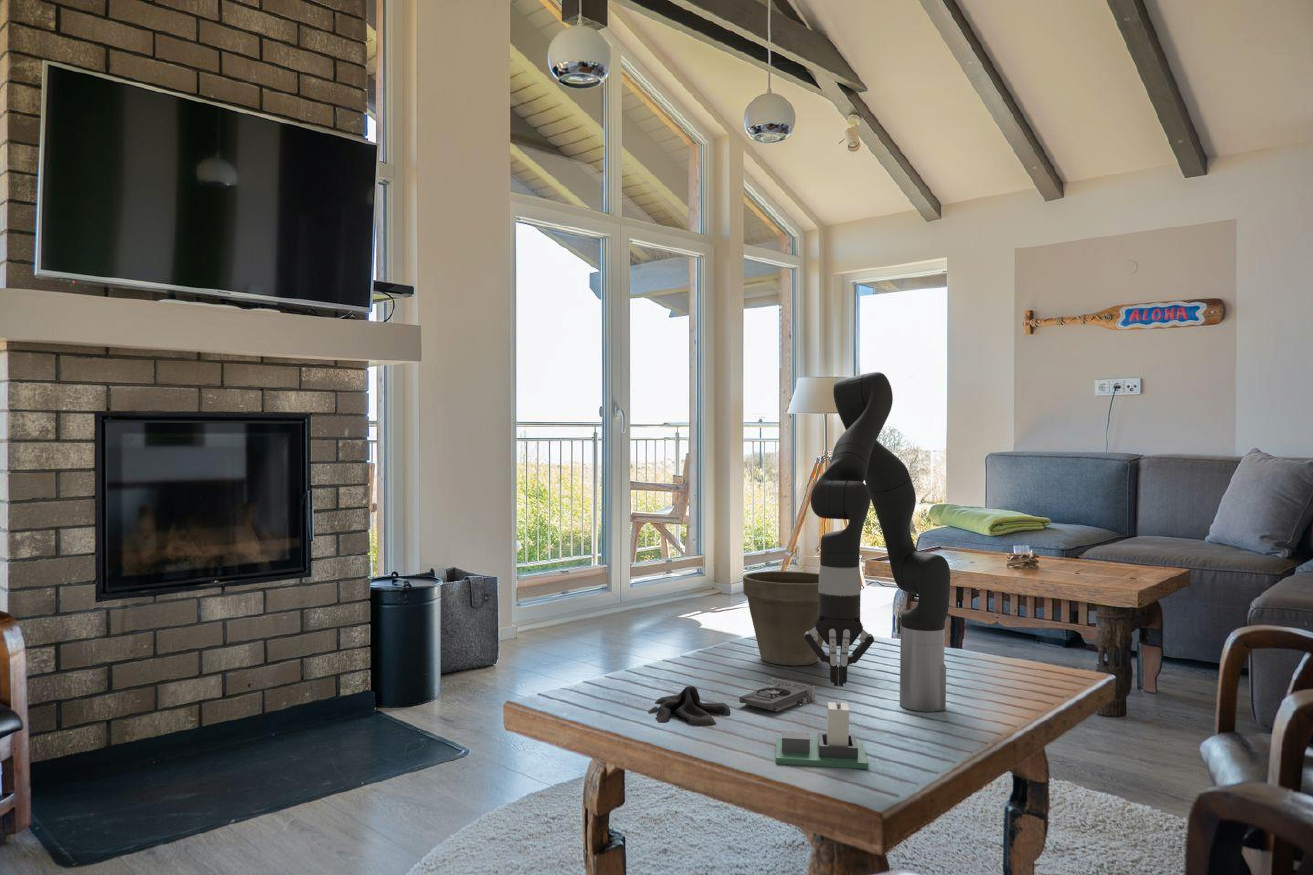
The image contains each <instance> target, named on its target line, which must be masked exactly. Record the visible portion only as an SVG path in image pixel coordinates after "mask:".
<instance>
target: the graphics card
mask: <svg viewBox="0 0 1313 875" xmlns="http://www.w3.org/2000/svg"><path fill="white" fill-rule="evenodd" d="M767 681H768V682H767V683H768V684H770V685H769V686H766V687H763V688H760V689H757V690H754V691H752V692H749V693H747V694H744V695H743V694H742V695H741V696H739V698H738V699H739V703H740V704H746V705H749V706H752V707H756V708H761V709H764V710H768V711H773V712H779V711H781V710H784V709H787V708H790V707H791V706H794V705H797V704H798V705H800V704H801V705H800V706H803V704H804V705H806V704H809V703H811V702H813V701H815V697H816V691H815V689H816V686H815V685H813V686H811V684H805V683H801V682H795V681H790V680H784V679H779V678H773V677H771V679H769V678H768V680H767ZM786 684H787V685H786ZM794 686H795V687H794ZM798 705H797V706H798ZM800 706H799V707H800Z"/></svg>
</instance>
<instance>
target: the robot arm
mask: <svg viewBox="0 0 1313 875" xmlns="http://www.w3.org/2000/svg"><path fill="white" fill-rule="evenodd" d="M832 391H833V393H832V394H833V400H834V403H835V407H836V410H837V412H838V416H839V418H840V420H841V423H842V424H843V427H844V429H845V431H844V432H843V433H842V434H841V435H840V437H839V439H837V442H836V443H835V445H834V448H833V452H832V455H831V459H830V463H829V465H828V466H827V467H826V469H825V471H823V473H822V474H821V476H820V477H819V478H818V479H817V481H816V482H815V484H814V485H813V488H812V491H811V494H810V507H811V509H812V512H813V513H814V514H815V516H817V517H818V518H821V519H826V520H827V519H829V520H848V524H847V526H846V528H844V529H841V530H836V531H830V532H825V533H824V534H823V535H822V536H821V538H820V550H819V552H820V554H819V555H820V557H819V558H820V560H819V561H820V562H819V564H820V565H819V573H818V574H819V585H818V589H819V594H818V619H817V621H816V623H815V627H814V628H813V629H812V630H810V631H809V632H808V631H807V632H805V634H804V637H805V640H806V641H807V642H808V644H809V645H810V646H811V648H812V649H813V650H814V652H815V653H816V654H817V656H818V660H820V661H821V662H822V663H827V664H828V665H829V681H830V682H831V684H833V687H839V688H840V687H842V688H843V687H844V684H847V683H848V682H847V681H848V666H849V665H852V664H856V663H858V662H859V660H860V659H861V658H862V657H863V655H864V654H865V653H866V652H867V651H868V649H869V648H870V647H871V645H872V644H874V642H875V638H874V636H873V634H872V633H869V632H867V631H866V630H865V629H864V626H863V623H862V621H861V592H862V584H861V582H862V579H861V577H862V576H861V571H860V569H861V568H860V560H861V559H860V555H861V553H860V551H861V547H860V546H861V537H862V533H863V529H864V525H865V521H866V519H867V515H868V512H869V510H870V505H871V504H872V506H873V508H874V509H873V510H874V511H875V514H876V518H877V520H878V524H879V527H880V531H881V533H882V536H883V539H884V544H885V548H886V551H887V557H888V560H889V564H890V570H891V574H892V577H893V581H895V584H896V586H897V587H898V588H899V589H900V590H902V591H903V592H904V593H908V594H912V595H913V594H914V595H918V601H917V606H915V607H914V608H911V609H907V610H904V611H903V612H902V613H901V614H900V641H899V642H900V646H899V648H900V649H899V651H900V653H899V656H900V657H899V659H900V660H899V705H900V706H901V707H902V708H905V709H907V710H911V711H916V712H917V711H918V712H928V713H929V712H938V711H939V712H940V711H947V710H946V706H947V702H946V700H947V666H946V664H945V638H946V636H945V635H946V631H945V629H946V628H945V627H946V619H947V617H948V614H949V608H950V607H949V604H950V590H951V568H950V565H949V562H948V561H947V559H946V558H945V557H944V556H943V555H940V554H936V553H932V552H931V553H929V552H921V551H918V549H917V548H916V546H915V544H914V541H913V537H912V533H911V524H912V523H911V522H912V518H913V515H914V512H915V508H916V502H917V493H916V491H915V487H914V484H913V482H912V478H911V475H910V473H909V469H908V467H907V466H906V465H905V463H903V461H902V460H901V459H900V458H899V457H898V456H897V455H896V454H894V453H893V452H892V451H890V450H889V449H888V448H887V447H886V446H884V445H883V444H882V443H881V442H879V441H878V438H879V436H880V433H881V432H882V430H883V428H884V425H885V423H886V421H887V419H888V417H889V416H890V412H891V410H892V407H893V402H894V401H893V400H894V396H893V390H892V386H891V382H890V381H889V378H888V377H887V375H885V374H884V373H883V372H881V371H873V372H867V373H862V374H859V375H853V376H850V377H846V378H841V379H839V380H837V381H836V382H835V383H834V385H833V390H832ZM864 482H865V483H864ZM817 633H819V634H820V636H821V637H822V639H823V640H824V641H823V642H824V643H825V644H826V645H827V646H828V652H829V654H828V653H826V652H825V651H824V650H823V648H822V647H820V645H819V644H818V643H817V640H818V636H817ZM859 636H860V637H859ZM858 637H859V642H860V643H858V645H857V646H856V648H854V650H853V651H852V652H851V654H850V655H849V651H850V646H852V645H853V644H854V642H855V641H856V640H857V639H858ZM837 647H840V654H839V664H838V656H837V655H838V654H837V653H838V652H837V651H838V650H837V649H838V648H837Z"/></svg>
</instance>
